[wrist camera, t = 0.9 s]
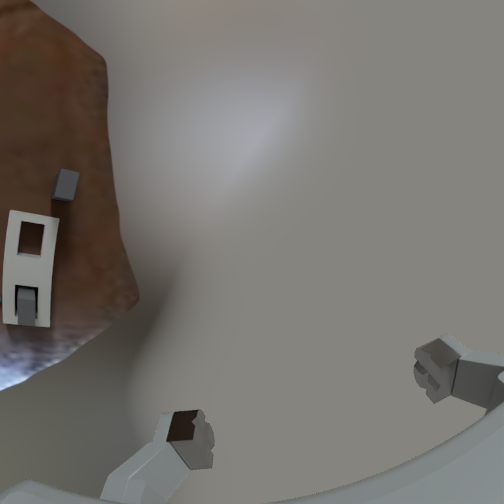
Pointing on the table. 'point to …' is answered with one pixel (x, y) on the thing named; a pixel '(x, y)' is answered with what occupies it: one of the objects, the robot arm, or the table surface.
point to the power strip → (28, 272)
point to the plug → (65, 185)
